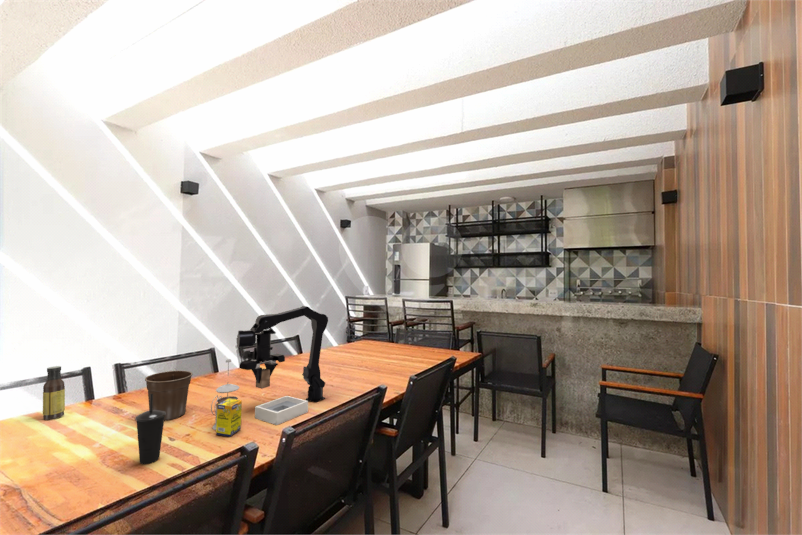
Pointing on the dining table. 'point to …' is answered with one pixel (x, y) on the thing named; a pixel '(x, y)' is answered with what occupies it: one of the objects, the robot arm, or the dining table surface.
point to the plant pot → (169, 392)
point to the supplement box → (228, 417)
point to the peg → (264, 379)
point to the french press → (224, 389)
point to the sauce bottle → (53, 394)
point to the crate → (284, 414)
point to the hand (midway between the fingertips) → (262, 381)
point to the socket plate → (281, 406)
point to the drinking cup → (150, 433)
